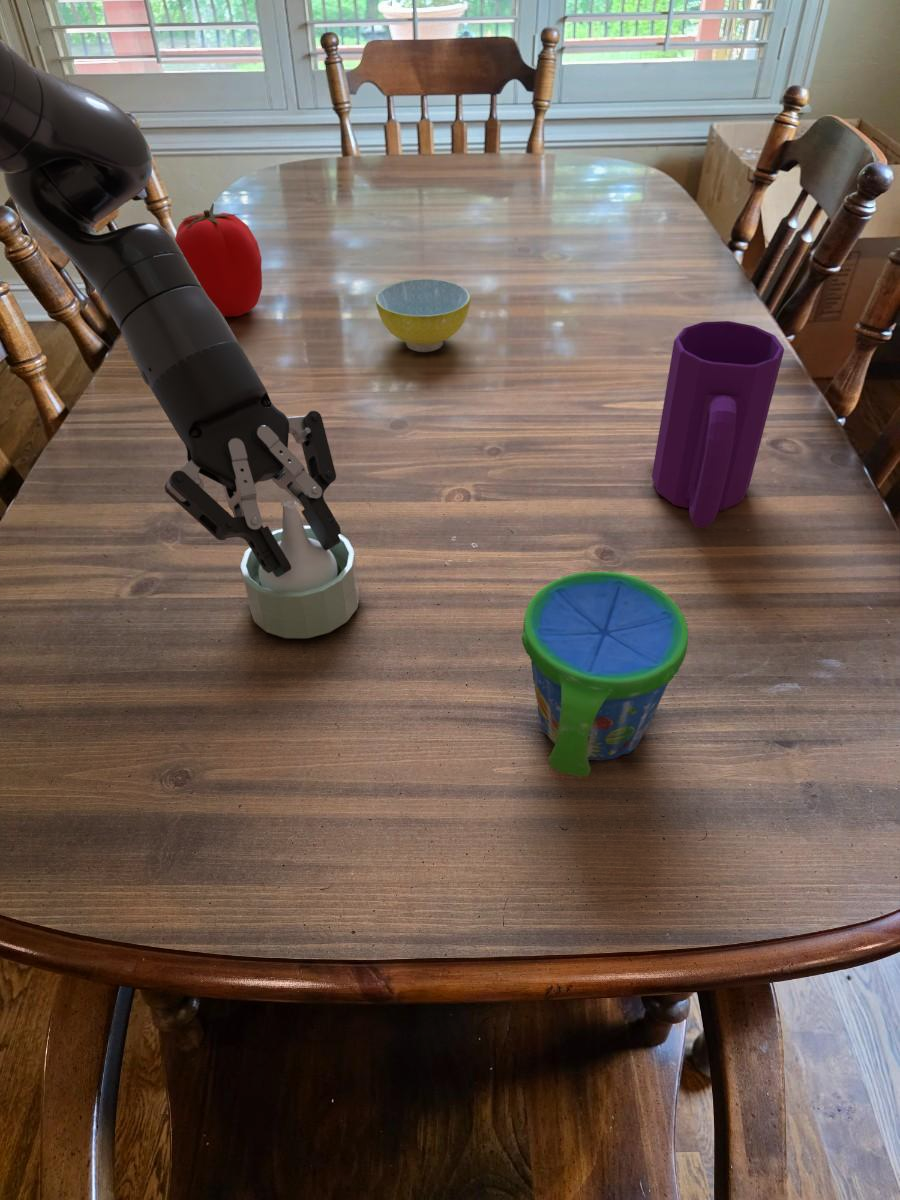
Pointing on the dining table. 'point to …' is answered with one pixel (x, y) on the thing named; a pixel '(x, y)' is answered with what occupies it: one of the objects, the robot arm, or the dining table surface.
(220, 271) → the tomato
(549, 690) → the snack cup
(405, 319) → the bowl
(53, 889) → the dining table surface
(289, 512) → the garlic bulb
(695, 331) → the mug
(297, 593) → the dish
